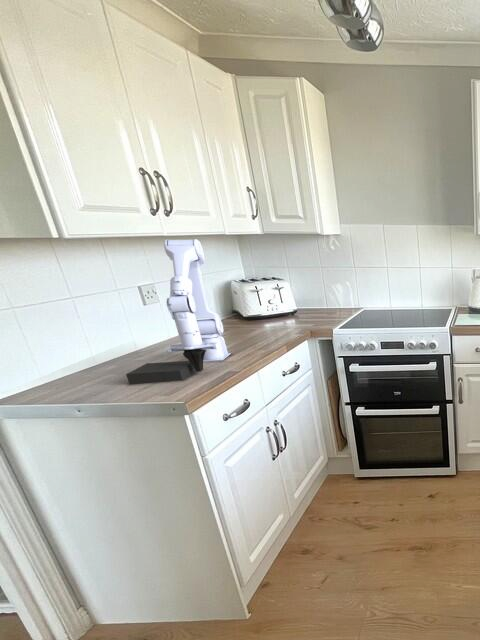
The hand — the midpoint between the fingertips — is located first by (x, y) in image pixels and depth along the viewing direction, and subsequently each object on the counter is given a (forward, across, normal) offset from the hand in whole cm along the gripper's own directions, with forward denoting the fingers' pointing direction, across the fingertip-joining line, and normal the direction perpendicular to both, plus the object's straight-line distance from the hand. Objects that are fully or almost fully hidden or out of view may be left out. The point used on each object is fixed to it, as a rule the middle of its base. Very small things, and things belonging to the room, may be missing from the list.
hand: (199, 370), depth 143 cm
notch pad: (+1, -13, 0) cm, 13 cm away
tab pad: (+1, -7, 0) cm, 7 cm away
